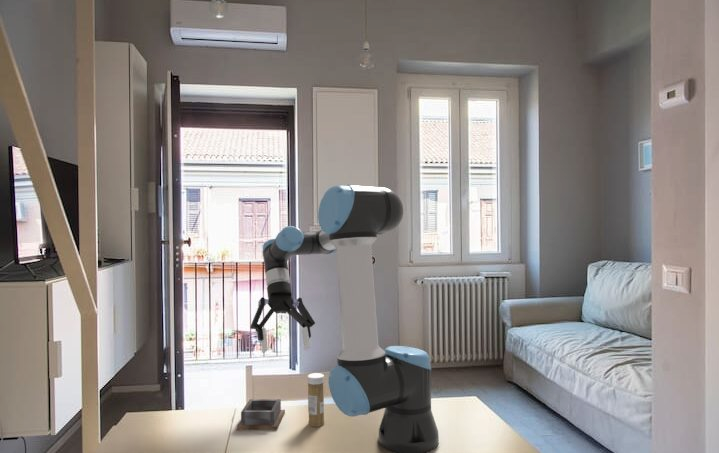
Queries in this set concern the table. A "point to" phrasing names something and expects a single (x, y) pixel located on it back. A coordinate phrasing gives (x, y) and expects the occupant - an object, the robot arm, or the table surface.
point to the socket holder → (261, 415)
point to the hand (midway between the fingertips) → (286, 350)
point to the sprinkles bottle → (315, 399)
